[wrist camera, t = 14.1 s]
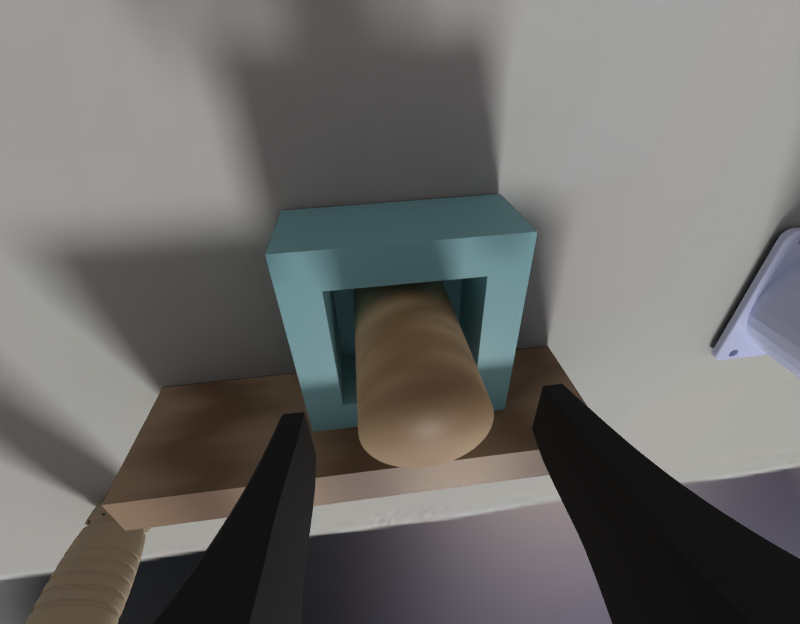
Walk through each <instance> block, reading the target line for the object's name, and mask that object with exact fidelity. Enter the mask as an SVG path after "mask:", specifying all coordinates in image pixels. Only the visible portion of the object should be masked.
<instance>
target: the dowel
mask: <svg viewBox="0 0 800 624" xmlns="http://www.w3.org/2000/svg"><path fill="white" fill-rule="evenodd" d="M354 324H355V353H356V383H357V412H358V435H359V440H360V442H361V445H362V446H363V448H364V449H365V450H366V451H367V453H368V454H370V455H371V456H372V457H373V458H375V459H377V460H379V461H381V462H383V463H385V464H389V465H392V466H397V467H404V468H424V467H432V466H436V465H440V464H444V463H447V462H450V461H453V460H455V459H457V458H459V457H461V456H463V455H465V454H467V453H468V452H470V451H471V450H473V449H474V448H475V447H476V446H478V445H479V444H480V443H481V442H482V441H483V440H484V438H485V437H486V436H487V434H488V433H489V431H490V429H491V427H492V424H493V419H494V410H493V406H492V403H491V401H490V398H489V396H488V393H487V391H486V388H485V386H484V383H483V381H482V378H481V376H480V373H479V371H478V369H477V366H476V364H475V361H474V359H473V356H472V354H471V351H470V349H469V346H468V344H467V341H466V339H465V336H464V334H463V332H462V329H461V327H460V324H459V322H458V319H457V317H456V314H455V312H454V309H453V307H452V304H451V302H450V300H449V297H448V295H447V292H446V290H445V287H444V285H443V282H442V281H431V282H421V283H410V284H399V285H388V286H377V287H366V288H355V291H354Z"/></svg>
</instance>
